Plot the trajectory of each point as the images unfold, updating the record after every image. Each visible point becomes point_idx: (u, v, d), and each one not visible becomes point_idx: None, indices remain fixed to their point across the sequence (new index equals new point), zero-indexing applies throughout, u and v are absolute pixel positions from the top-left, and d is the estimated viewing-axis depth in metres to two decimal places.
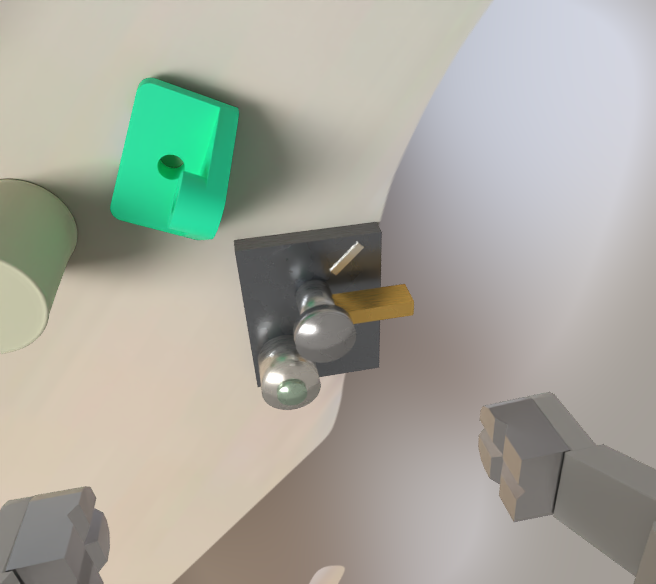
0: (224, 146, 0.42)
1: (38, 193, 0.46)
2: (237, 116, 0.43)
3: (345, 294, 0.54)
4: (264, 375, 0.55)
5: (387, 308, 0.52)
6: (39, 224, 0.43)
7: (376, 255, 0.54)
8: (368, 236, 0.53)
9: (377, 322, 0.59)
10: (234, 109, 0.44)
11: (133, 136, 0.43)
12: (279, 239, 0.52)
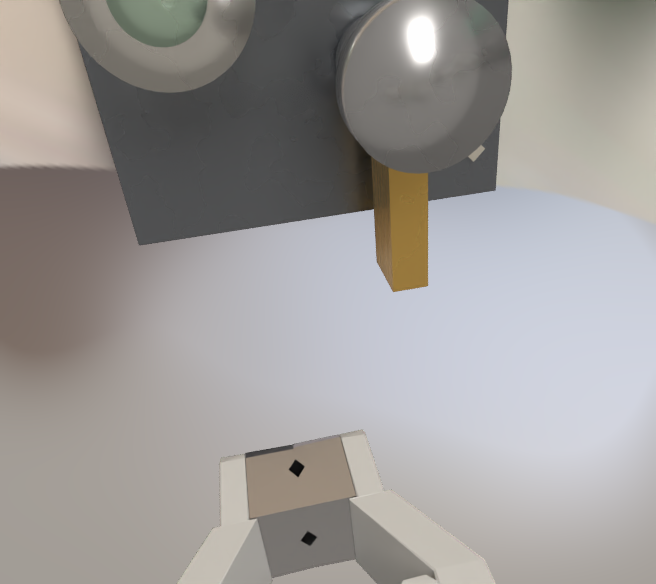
0: None
1: None
2: None
3: None
4: None
5: (421, 234, 0.23)
6: None
7: (447, 189, 0.28)
8: (491, 167, 0.28)
9: (278, 218, 0.27)
10: None
11: None
12: None
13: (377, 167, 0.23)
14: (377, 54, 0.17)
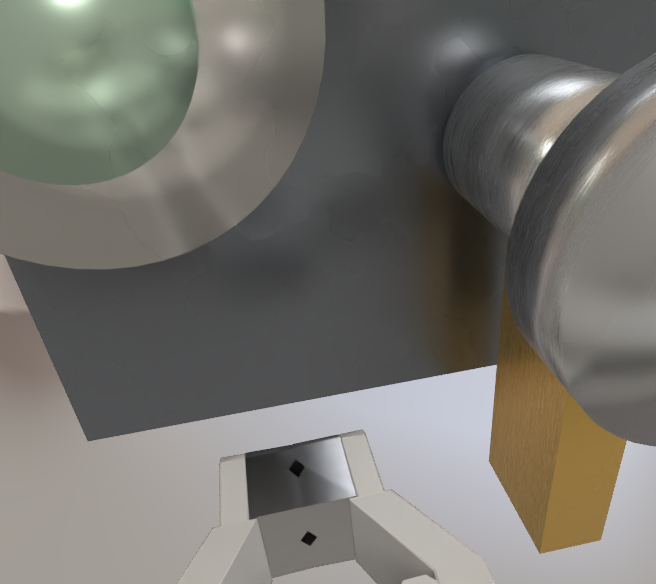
0: None
1: None
2: None
3: None
4: None
5: (607, 471, 0.12)
6: None
7: None
8: None
9: (323, 390, 0.16)
10: None
11: None
12: None
13: (521, 341, 0.13)
14: None
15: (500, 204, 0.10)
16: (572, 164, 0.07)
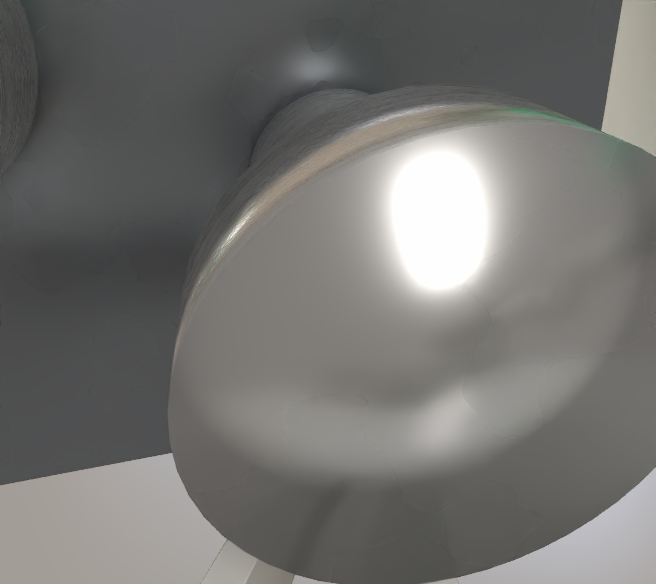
0: None
1: None
2: None
3: None
4: None
5: None
6: None
7: None
8: None
9: (164, 446, 0.15)
10: None
11: None
12: None
13: None
14: (275, 343, 0.05)
15: None
16: (194, 269, 0.05)
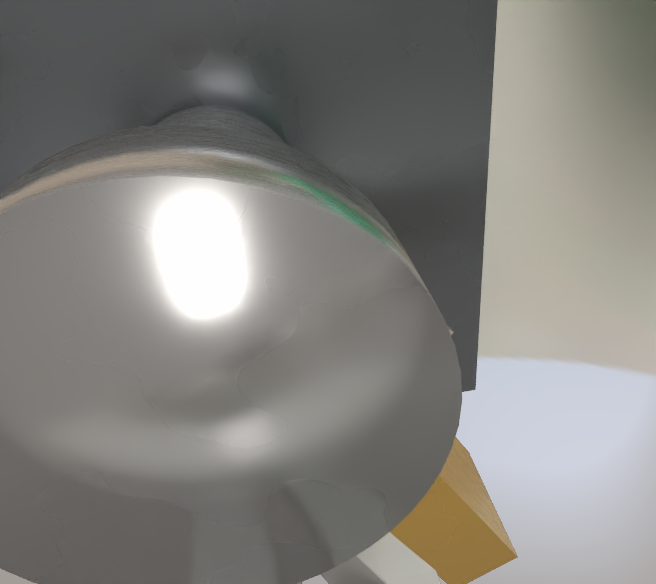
0: None
1: None
2: None
3: None
4: None
5: (449, 508, 0.11)
6: None
7: None
8: (467, 356, 0.15)
9: None
10: None
11: None
12: None
13: None
14: None
15: None
16: None
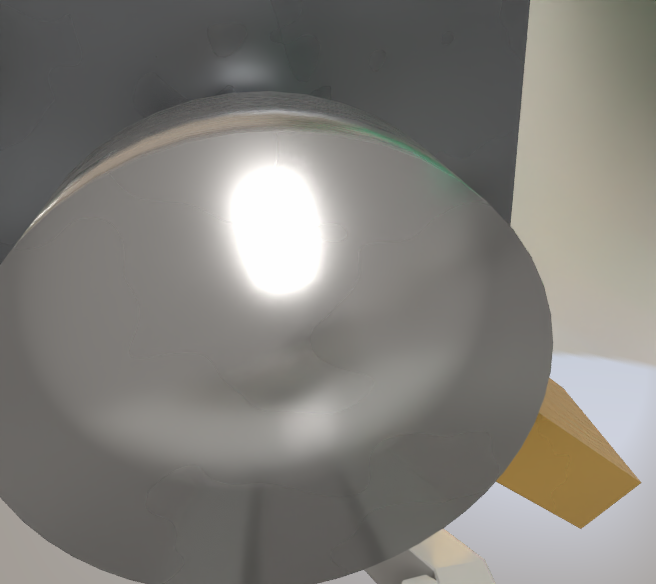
0: None
1: None
2: None
3: None
4: None
5: (557, 445, 0.10)
6: None
7: None
8: None
9: None
10: None
11: None
12: None
13: None
14: (76, 480, 0.05)
15: None
16: None
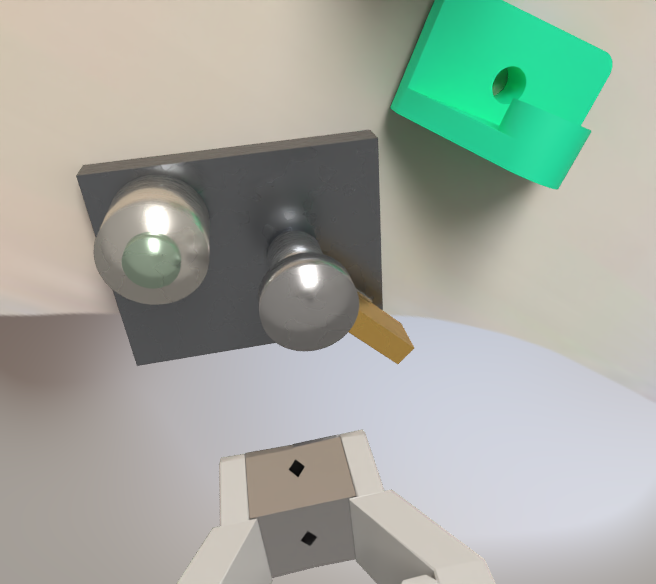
0: None
1: None
2: None
3: None
4: (173, 203, 0.30)
5: (384, 332, 0.35)
6: None
7: None
8: None
9: (232, 346, 0.40)
10: None
11: (558, 39, 0.33)
12: None
13: None
14: (274, 320, 0.31)
15: None
16: None
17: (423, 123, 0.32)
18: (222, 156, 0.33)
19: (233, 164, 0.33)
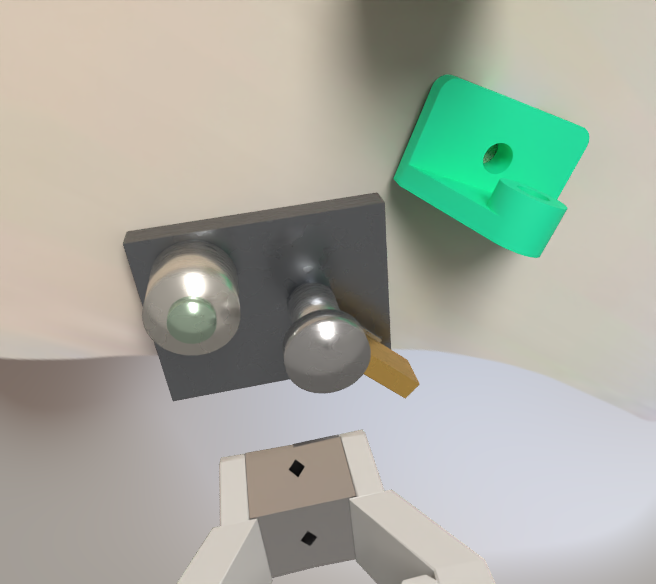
0: None
1: None
2: None
3: None
4: (209, 270, 0.34)
5: (392, 372, 0.40)
6: None
7: None
8: None
9: (257, 382, 0.44)
10: None
11: (540, 119, 0.37)
12: None
13: None
14: (297, 368, 0.35)
15: None
16: None
17: (422, 196, 0.37)
18: (248, 222, 0.38)
19: (258, 229, 0.38)
